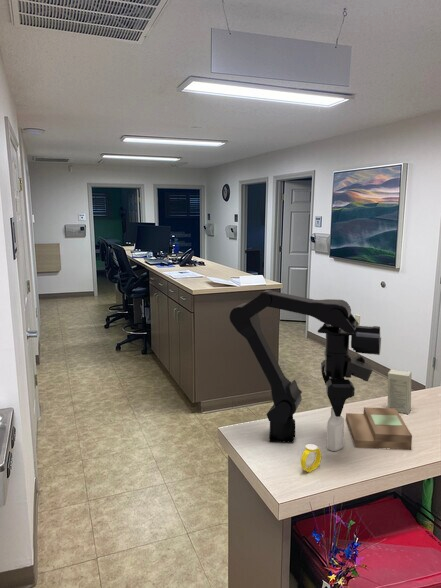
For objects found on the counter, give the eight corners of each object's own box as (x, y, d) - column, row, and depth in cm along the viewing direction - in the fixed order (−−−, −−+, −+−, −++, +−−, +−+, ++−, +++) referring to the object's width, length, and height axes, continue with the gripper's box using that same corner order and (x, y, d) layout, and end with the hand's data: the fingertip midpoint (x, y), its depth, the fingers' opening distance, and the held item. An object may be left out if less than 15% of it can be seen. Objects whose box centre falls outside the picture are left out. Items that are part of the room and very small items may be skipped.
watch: (314, 463, 107) (315, 440, 106) (323, 468, 105) (324, 445, 104) (297, 471, 103) (299, 447, 103) (306, 476, 101) (308, 452, 101)
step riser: (354, 447, 113) (355, 432, 113) (345, 419, 129) (346, 406, 128) (411, 449, 111) (412, 434, 111) (395, 421, 127) (395, 407, 126)
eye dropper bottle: (349, 448, 113) (350, 405, 111) (331, 453, 111) (331, 409, 109) (339, 440, 117) (340, 398, 115) (321, 445, 115) (321, 402, 113)
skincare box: (411, 409, 135) (412, 371, 132) (408, 414, 131) (410, 376, 129) (389, 405, 138) (390, 368, 136) (386, 410, 134) (387, 372, 132)
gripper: (378, 363, 99) (375, 426, 102) (363, 340, 118) (361, 394, 120) (328, 362, 101) (327, 424, 104) (321, 339, 119) (320, 393, 122)
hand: (335, 408), depth 112 cm, fingers open, 9 cm apart
